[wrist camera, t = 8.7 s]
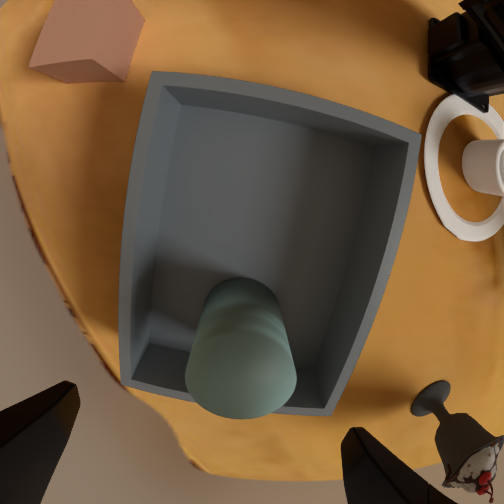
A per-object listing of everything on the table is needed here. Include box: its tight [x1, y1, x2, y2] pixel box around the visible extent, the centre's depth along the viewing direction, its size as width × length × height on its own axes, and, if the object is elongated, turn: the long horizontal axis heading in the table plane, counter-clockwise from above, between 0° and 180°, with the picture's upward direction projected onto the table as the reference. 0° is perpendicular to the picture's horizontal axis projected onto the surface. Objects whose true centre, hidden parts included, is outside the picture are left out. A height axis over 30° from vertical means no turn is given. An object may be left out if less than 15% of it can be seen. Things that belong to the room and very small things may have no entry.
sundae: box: [411, 381, 504, 503], centre depth 16 cm, size 7×7×15 cm
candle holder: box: [424, 94, 504, 241], centre depth 16 cm, size 12×12×4 cm
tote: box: [118, 71, 422, 416], centre depth 16 cm, size 13×17×5 cm
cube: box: [28, 0, 145, 84], centre depth 12 cm, size 5×5×5 cm
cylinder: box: [185, 278, 297, 419], centre depth 16 cm, size 5×5×7 cm
